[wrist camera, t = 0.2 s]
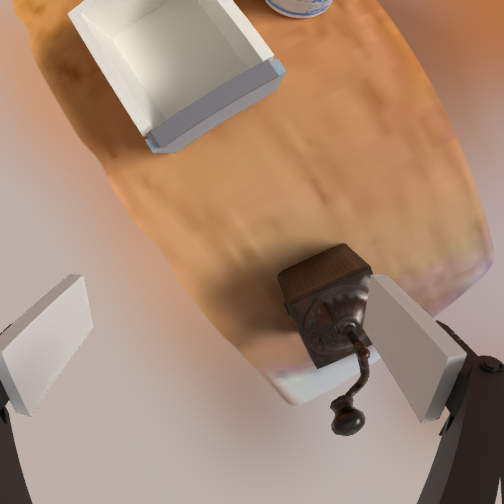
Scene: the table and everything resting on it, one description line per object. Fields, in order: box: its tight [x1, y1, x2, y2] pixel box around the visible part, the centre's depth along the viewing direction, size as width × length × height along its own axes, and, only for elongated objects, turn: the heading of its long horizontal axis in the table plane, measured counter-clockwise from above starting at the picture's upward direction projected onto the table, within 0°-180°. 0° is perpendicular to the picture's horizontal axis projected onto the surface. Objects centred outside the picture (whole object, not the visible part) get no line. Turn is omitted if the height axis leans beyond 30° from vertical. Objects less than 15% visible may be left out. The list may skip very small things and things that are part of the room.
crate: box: [68, 0, 274, 137], centre depth 29 cm, size 18×14×11 cm
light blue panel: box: [145, 59, 286, 153], centre depth 30 cm, size 2×14×11 cm, turn 122°
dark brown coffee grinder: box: [277, 244, 373, 436], centre depth 36 cm, size 16×11×18 cm
